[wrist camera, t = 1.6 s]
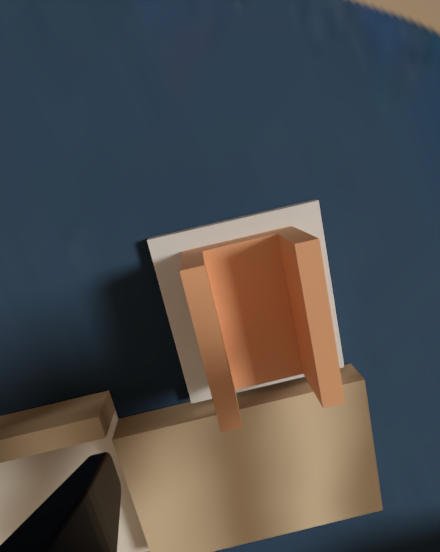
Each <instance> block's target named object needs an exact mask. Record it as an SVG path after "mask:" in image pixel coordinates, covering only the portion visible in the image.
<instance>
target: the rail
mask: <svg viewBox="0 0 440 552" xmlns="http://www.w3.org/2000/svg"><path fill="white" fill-rule="evenodd" d="M340 374H341V380H342V386H343V393H344V399H345V403H343V404H339V405H335V406H331V407H327V408H323V407H322V405H321V404H320V402H319V400H318V399H317V397H316V395H315V393H314V392H313V390H312V388H311V386H310V385H309V383H308V381H307V379H306V378H305V377H301V378H297V379H293V380H289V381H284V382H280V383H276V384H272V385H268V386H263V387H259V388H255V389H251V390H247V391H242V392H238V393H236V395H237V400H238V405H239V410H240V415H241V420H242V424H243V428H239V429H235V430H231V431H227V432H223V433H221V431H220V427H219V423H218V419H217V415H216V412H215V408H214V404H213V400H212V399H209V400H205V401H200V402H196V403H192V404H191V402H187V403H182V404H178V405H174V406H170V407H166V408H161V409H157V410H153V411H149V412H145V413H140V414H136V415H132V416H128V417H124V418H119V419H118V416H117V413H116V410H115V407H114V404H113V401H112V398H111V395H110V392H109V390H108V391H104V392H100V393H95V394H91V395H87V396H83V397H79V398H74V399H70V400H66V401H62V402H58V403H53V404H49V405H45V406H41V407H36V408H32V409H28V410H24V411H20V412H15V413H11V414H7V415H3V416H0V545H1V544H2V543H3V542H4V541H5V540H6V539H7V538H8V537H9V536H10V535H11V534H12V533H13V532H14V531H15V530H16V529H17V528H18V527H19V526H20V525H21V524H22V523H23V522H24V521H25V520H26V519H27V518H28V517H29V516H30V515H31V514H32V513H33V512H34V511H35V510H36V509H37V508H38V507H39V506H40V505H41V504H42V503H43V502H44V501H45V500H46V499H47V498H48V497H49V496H50V495H51V494H52V493H53V492H54V491H55V490H56V489H57V488H58V487H59V486H60V485H61V484H62V483H63V482H64V481H65V480H66V479H67V478H68V477H69V476H70V475H71V474H72V473H73V472H74V471H75V470H76V469H77V468H78V467H79V466H80V465H81V464H82V463H83V462H84V461H85V460H86V459H87V458H88V457H89V456H91V455H95V454H99V453H103V452H108V453H109V454H110V455H111V457H112V459H113V462H114V465H115V468H116V471H117V474H118V477H119V479H120V483H121V504H120V517H119V531H118V544H117V552H213V551H217V550H221V549H225V548H229V547H234V546H238V545H242V544H246V543H250V542H254V541H258V540H262V539H266V538H270V537H274V536H279V535H283V534H287V533H291V532H295V531H299V530H303V529H307V528H311V527H315V526H319V525H324V524H328V523H332V522H336V521H340V520H344V519H348V518H352V517H356V516H360V515H365V514H369V513H373V512H377V511H381V510H383V507H382V500H381V493H380V486H379V478H378V471H377V464H376V457H375V450H374V443H373V436H372V429H371V421H370V414H369V407H368V400H367V393H366V386H365V379H364V378H363V377H362V376H361V375H360V374H359V373H358V371H357V370H356V369H355V368H354V367H353V366H352V365H351V363H350V364H346V365H344V367H343V368H340Z"/></svg>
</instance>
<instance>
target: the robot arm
mask: <svg viewBox="0 0 440 552" xmlns="http://www.w3.org/2000/svg"><path fill="white" fill-rule="evenodd" d="M120 504H121V483H120V479H119V477H118V474H117V471H116V468H115V465H114V462H113V459H112V457H111V455H110V454H109V453H108V452H103V453H99V454H95V455H91V456H89V457H88V458H87V459H86V460H85V461H84V462H83V463H82V464H81V465H80V466H79V467H78V468H77V469H76V470H75V471H74V472H73V473H72V474H71V475H70V476H69V477H68V478H67V479H66V480H65V481H64V482H63V483H62V484H61V485H60V486H59V487H58V488H57V489H56V490H55V491H54V492H53V493H52V494H51V495H50V496H49V497H48V498H47V499H46V500H45V501H44V502H43V503H42V504H41V505H40V506H39V507H38V508H37V509H36V510H35V511H34V512H33V513H32V514H31V515H30V516H29V517H28V518H27V519H26V520H25V521H24V522H23V523H22V524H21V525H20V526H19V527H18V528H17V529H16V530H15V531H14V532H13V533H12V534H11V535H10V536H9V537H8V538H7V539H6V540H5V541H4V542H3V543H2V544H1V545H0V552H117V544H118V531H119V517H120Z"/></svg>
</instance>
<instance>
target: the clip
mask: <svg viewBox="0 0 440 552" xmlns="http://www.w3.org/2000/svg"><path fill="white" fill-rule="evenodd" d="M180 275H181V279H182V283H183V287H184V291H185V295H186V299H187V302H188V306H189V310H190V314H191V318H192V322H193V326H194V330H195V334H196V337H197V341H198V345H199V349H200V353H201V357H202V361H203V365H204V369H205V373H206V376H207V380H208V384H209V388H210V392H211V396H212V400H213V404H214V408H215V412H216V415H217V419H218V423H219V427H220V431H221V433H223V432H227V431H231V430H235V429H239V428H243V424H242V420H241V415H240V410H239V405H238V400H237V395H236V391H235V390H238V389H242V388H246V387H250V386H255V385H259V384H263V383H267V382H271V381H276V380H280V379H284V378H288V377H292V376H297V375H301V374H304V376H305V378H306V379H307V381H308V383H309V385H310V386H311V388H312V390H313V392H314V393H315V395H316V397H317V399H318V400H319V402H320V404H321V405H322V407H323V408H327V407H331V406H335V405H339V404H343V403H345V399H344V393H343V386H342V380H341V374H340V367H339V361H338V354H337V348H336V342H335V335H334V329H333V323H332V316H331V310H330V304H329V297H328V291H327V285H326V278H325V272H324V266H323V259H322V253H321V247H320V240H319V238H317V237H315V236H313V235H311V234H308V233H306V232H304V231H302V230H299V229H297V228H295V227H293V226H289V227H284V228H280V229H276V230H271V231H267V232H263V233H258V234H254V235H250V236H246V237H241V238H237V239H233V240H228V241H224V242H220V243H215V244H211V245H207V246H203V247H198V248H194V249H190V250H185V251H182V256H181V263H180Z"/></svg>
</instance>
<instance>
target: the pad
mask: <svg viewBox="0 0 440 552" xmlns="http://www.w3.org/2000/svg"><path fill="white" fill-rule="evenodd" d="M289 226H293V227H295V228H297V229H299V230H302V231H304V232H306V233H308V234H311V235H313V236H315V237H317V238H319V240H320V247H321V253H322V259H323V266H324V272H325V278H326V285H327V291H328V297H329V304H330V310H331V316H332V323H333V329H334V335H335V342H336V348H337V354H338V361H339V367H340V368H343V367H344V362H343V355H342V349H341V342H340V336H339V329H338V323H337V316H336V310H335V303H334V297H333V290H332V284H331V278H330V271H329V265H328V258H327V252H326V245H325V239H324V232H323V226H322V219H321V213H320V206H319V200H310V201H306V202H302V203H297V204H293V205H289V206H285V207H280V208H276V209H272V210H267V211H263V212H259V213H254V214H250V215H246V216H241V217H237V218H233V219H228V220H224V221H220V222H215V223H211V224H207V225H202V226H198V227H194V228H189V229H185V230H181V231H177V232H172V233H168V234H164V235H159V236H155V237H151V238H148V239H147V243H148V246H149V250H150V254H151V257H152V261H153V265H154V268H155V272H156V276H157V279H158V283H159V287H160V290H161V294H162V298H163V301H164V305H165V309H166V312H167V316H168V320H169V323H170V327H171V331H172V334H173V338H174V342H175V345H176V349H177V353H178V356H179V360H180V363H181V367H182V371H183V374H184V378H185V382H186V385H187V389H188V393H189V396H190V400H191V404H192V403H196V402H200V401H205V400H209V399H212V396H211V392H210V388H209V384H208V380H207V376H206V373H205V369H204V365H203V361H202V357H201V353H200V349H199V345H198V341H197V337H196V334H195V330H194V326H193V322H192V318H191V314H190V310H189V306H188V302H187V299H186V295H185V291H184V287H183V283H182V279H181V275H180V263H181V256H182V251H185V250H190V249H194V248H198V247H203V246H207V245H211V244H215V243H220V242H224V241H228V240H233V239H237V238H241V237H246V236H250V235H254V234H258V233H263V232H267V231H271V230H276V229H280V228H284V227H289ZM301 377H305V376H304V374H301V375H297V376H292V377H288V378H284V379H280V380H276V381H271V382H267V383H263V384H259V385H255V386H250V387H246V388H242V389H238V390H235V391H236V393H238V392H242V391H247V390H251V389H255V388H259V387H263V386H268V385H272V384H276V383H280V382H284V381H289V380H293V379H297V378H301Z"/></svg>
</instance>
